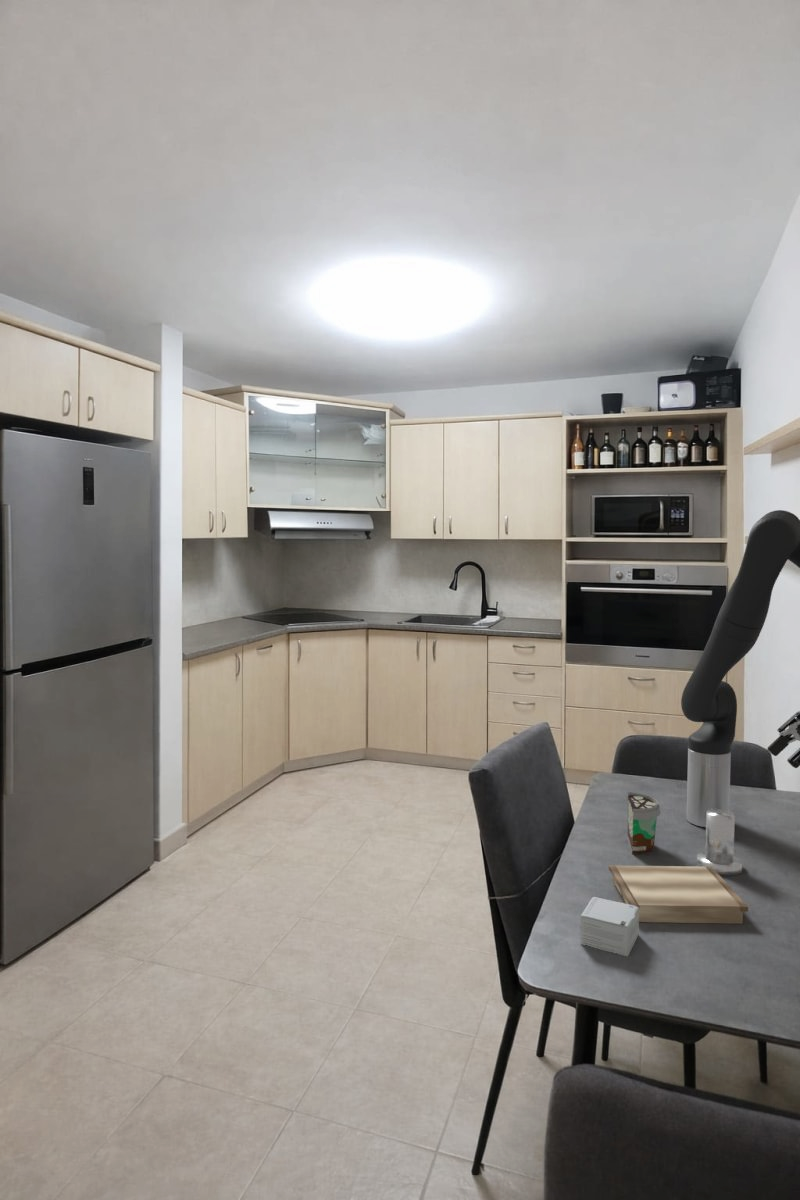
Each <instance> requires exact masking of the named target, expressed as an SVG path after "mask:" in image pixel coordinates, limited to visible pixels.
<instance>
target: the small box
mask: <svg viewBox="0 0 800 1200" xmlns="http://www.w3.org/2000/svg"><path fill="white" fill-rule="evenodd" d="M639 924H640V922H639V907H637V906H633V905H629V904H626V903H625V902H619V901H614V900H610V899H606V898H600V897H596V896H593V897H591V899H590V900H589V902H588V904H587V905H586V907H585V909H584V910H583V911H582V913H581V915H580V945H581V944H583V945H582V946H585V945H588V946H587V947H589V946H591V947H590V948H593V947H594V948H593V949H597V948H598V949H597V950H602V951H605V952H609V953H612V952H613V954H616V953H617V955H620V956H624V957H629V955H630V953H631V951H632V949H633V947H634V945H635V943H636V941H637V938H638V936H639Z"/></svg>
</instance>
